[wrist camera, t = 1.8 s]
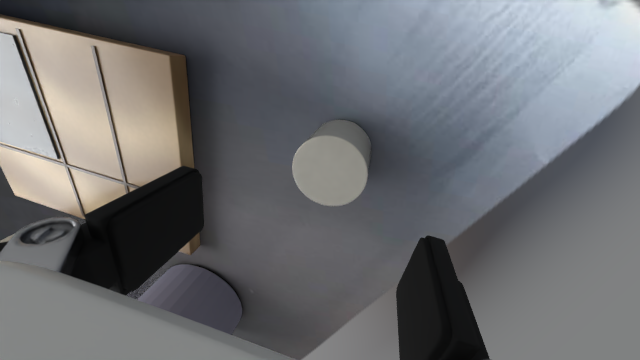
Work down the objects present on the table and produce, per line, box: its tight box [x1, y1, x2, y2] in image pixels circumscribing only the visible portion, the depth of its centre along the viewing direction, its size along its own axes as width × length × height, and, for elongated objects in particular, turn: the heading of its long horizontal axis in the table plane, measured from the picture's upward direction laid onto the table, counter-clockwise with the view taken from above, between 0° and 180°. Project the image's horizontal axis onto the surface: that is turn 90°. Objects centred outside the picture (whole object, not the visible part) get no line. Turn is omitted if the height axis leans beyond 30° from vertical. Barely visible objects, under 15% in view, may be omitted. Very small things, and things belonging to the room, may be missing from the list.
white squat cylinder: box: [292, 120, 372, 206], centre depth 16 cm, size 4×4×4 cm
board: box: [0, 14, 200, 255], centre depth 22 cm, size 18×25×2 cm
